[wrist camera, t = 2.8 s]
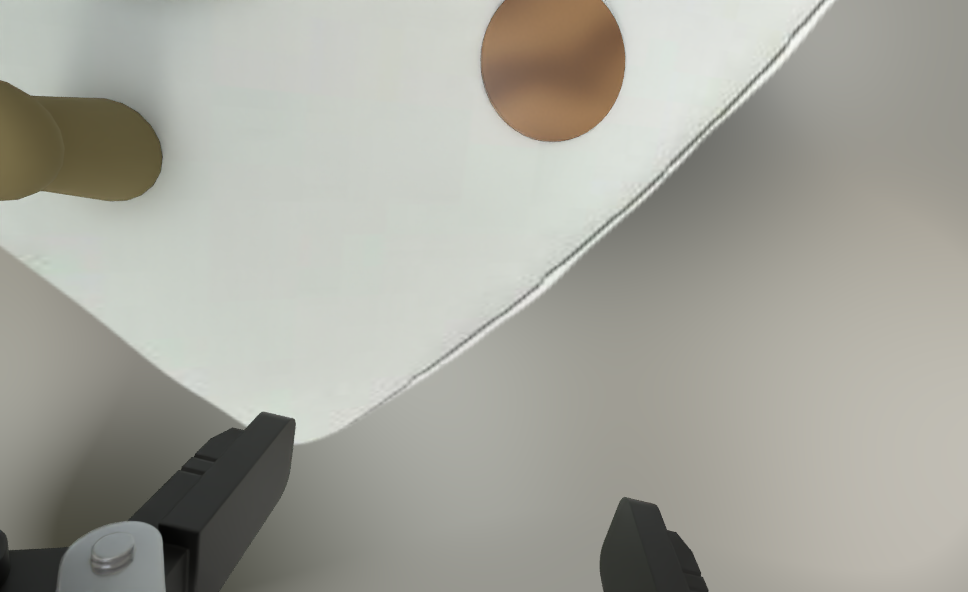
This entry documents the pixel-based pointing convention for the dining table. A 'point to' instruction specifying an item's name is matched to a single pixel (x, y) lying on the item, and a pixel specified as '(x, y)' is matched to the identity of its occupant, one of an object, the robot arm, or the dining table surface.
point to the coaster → (552, 66)
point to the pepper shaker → (74, 147)
